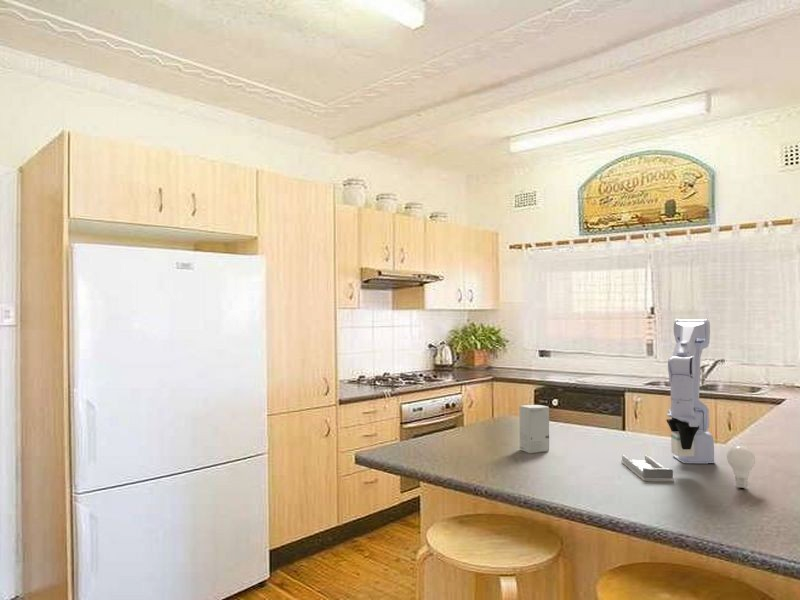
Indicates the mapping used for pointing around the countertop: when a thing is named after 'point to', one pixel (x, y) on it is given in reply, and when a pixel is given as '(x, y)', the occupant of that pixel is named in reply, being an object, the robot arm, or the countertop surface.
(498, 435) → the countertop surface
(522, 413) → the skincare box
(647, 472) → the rail plate
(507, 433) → the countertop surface
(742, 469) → the lightbulb
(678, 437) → the block
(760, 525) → the countertop surface
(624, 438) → the countertop surface
